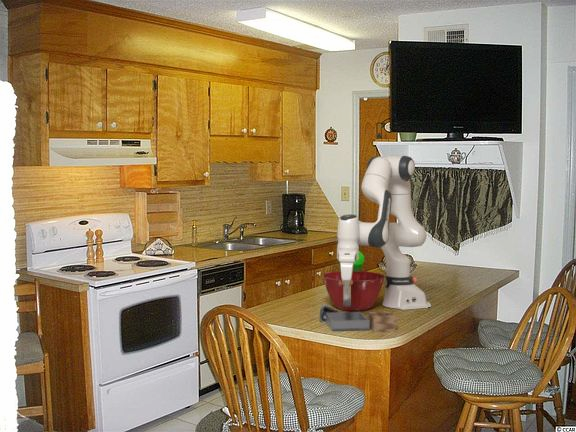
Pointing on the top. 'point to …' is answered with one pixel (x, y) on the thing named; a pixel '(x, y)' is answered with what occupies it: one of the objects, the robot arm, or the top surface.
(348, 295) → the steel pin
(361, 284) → the mixing bowl
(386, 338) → the top surface
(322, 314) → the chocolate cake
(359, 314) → the tray
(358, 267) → the plastic bottle
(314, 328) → the top surface
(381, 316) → the hitch block
